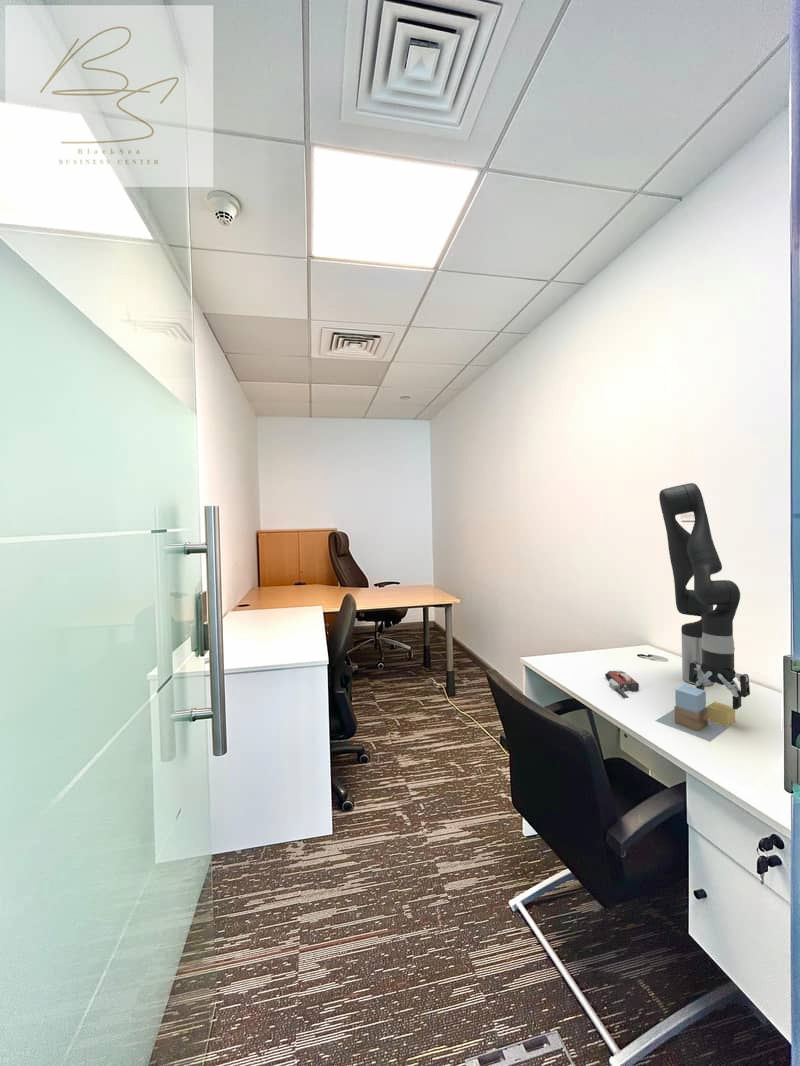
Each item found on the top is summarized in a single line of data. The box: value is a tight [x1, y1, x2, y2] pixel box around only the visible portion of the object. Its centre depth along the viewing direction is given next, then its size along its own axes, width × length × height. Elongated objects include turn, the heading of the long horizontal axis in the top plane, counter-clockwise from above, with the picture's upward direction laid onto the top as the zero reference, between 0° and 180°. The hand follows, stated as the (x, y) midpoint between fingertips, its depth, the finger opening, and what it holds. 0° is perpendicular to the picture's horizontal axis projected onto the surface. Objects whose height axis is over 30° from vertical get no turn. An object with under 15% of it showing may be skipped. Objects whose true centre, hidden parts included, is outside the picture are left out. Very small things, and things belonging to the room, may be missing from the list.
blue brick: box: [674, 684, 707, 713], centre depth 119 cm, size 6×6×5 cm
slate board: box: [655, 709, 730, 742], centre depth 119 cm, size 12×14×1 cm
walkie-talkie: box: [604, 670, 640, 699], centre depth 147 cm, size 9×4×20 cm
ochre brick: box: [706, 701, 736, 727], centre depth 120 cm, size 5×5×5 cm
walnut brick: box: [673, 705, 708, 731], centre depth 119 cm, size 6×6×5 cm
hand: (718, 703), depth 120 cm, fingers open, 8 cm apart
